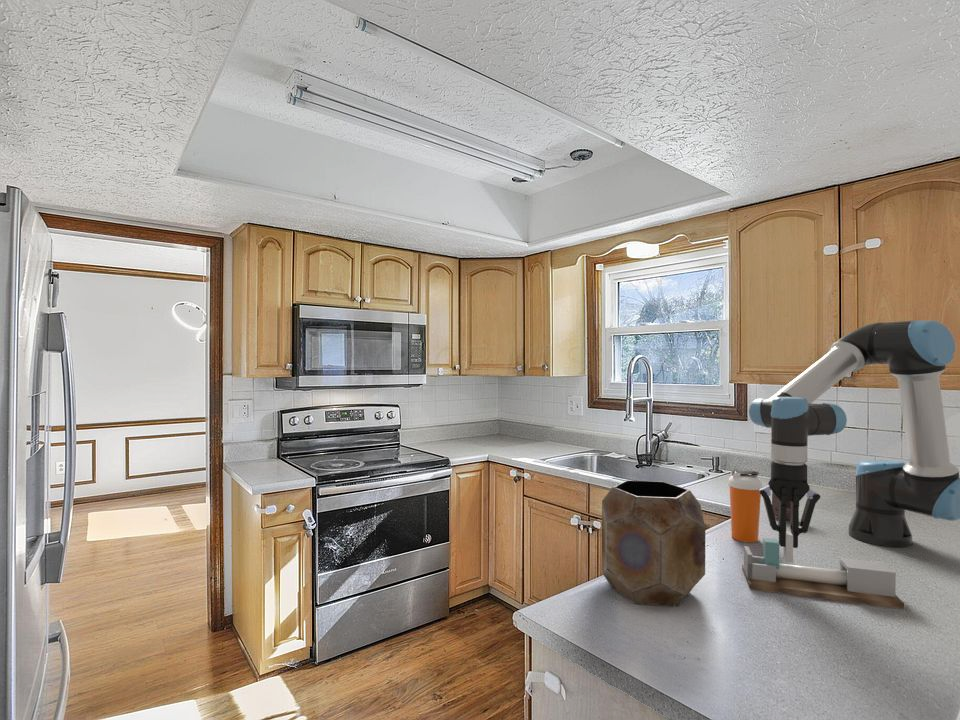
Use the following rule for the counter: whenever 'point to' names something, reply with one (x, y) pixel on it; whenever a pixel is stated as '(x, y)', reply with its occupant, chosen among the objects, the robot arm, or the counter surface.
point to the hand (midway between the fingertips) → (788, 560)
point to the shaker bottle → (745, 505)
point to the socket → (758, 567)
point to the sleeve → (869, 577)
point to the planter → (652, 542)
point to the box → (776, 507)
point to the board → (822, 591)
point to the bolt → (799, 567)
